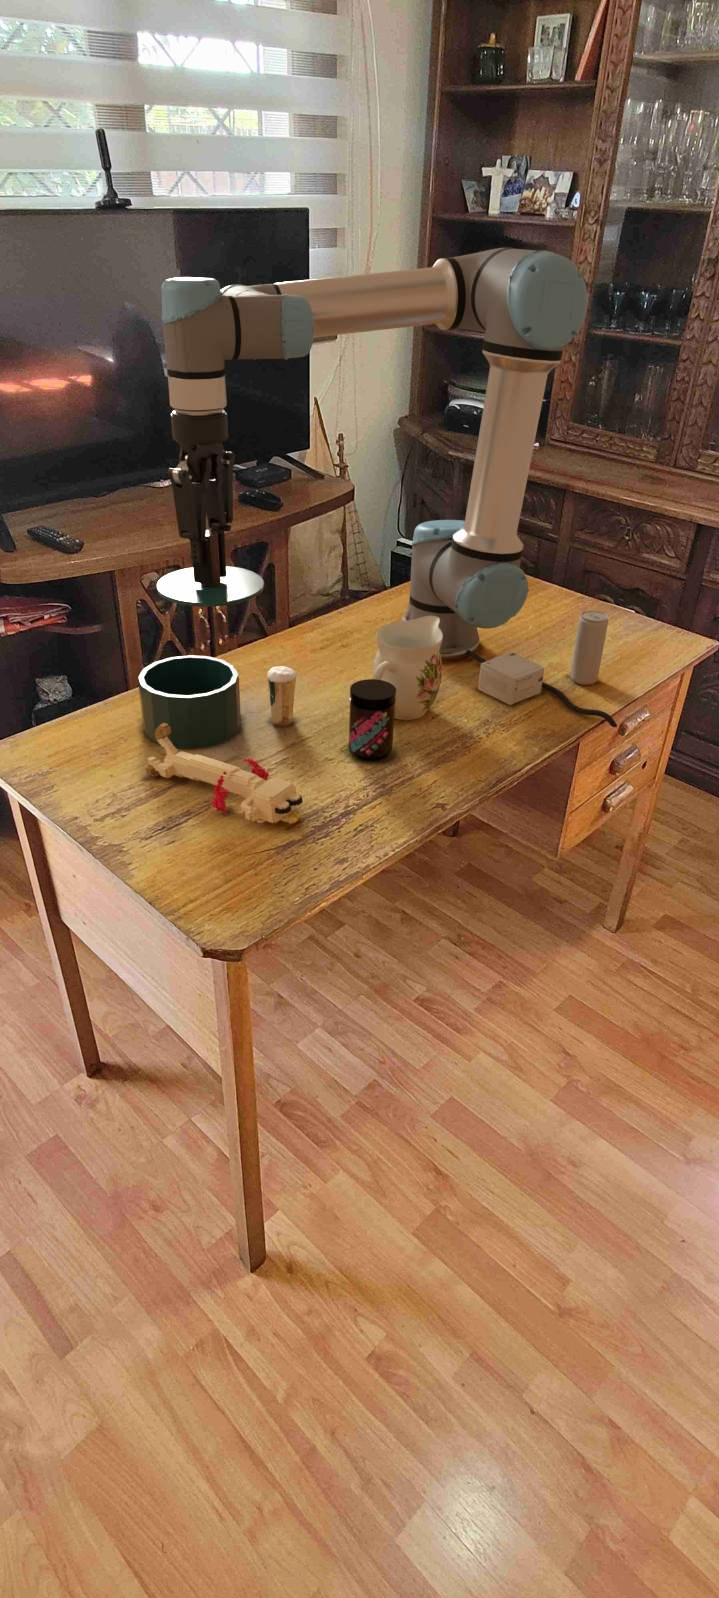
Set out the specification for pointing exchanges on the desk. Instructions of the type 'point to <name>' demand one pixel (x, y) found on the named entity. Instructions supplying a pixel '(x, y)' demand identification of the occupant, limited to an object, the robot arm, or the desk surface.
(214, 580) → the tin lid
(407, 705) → the pitcher
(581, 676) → the beverage can
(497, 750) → the desk surface
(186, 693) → the tin
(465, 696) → the desk surface
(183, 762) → the blocky axolotl figure
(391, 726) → the supplement container
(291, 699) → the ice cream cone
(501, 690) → the small box
